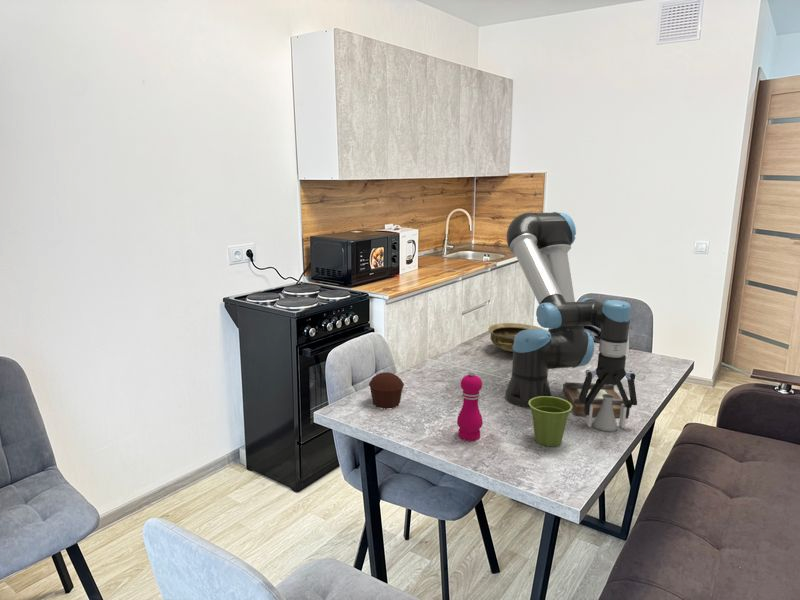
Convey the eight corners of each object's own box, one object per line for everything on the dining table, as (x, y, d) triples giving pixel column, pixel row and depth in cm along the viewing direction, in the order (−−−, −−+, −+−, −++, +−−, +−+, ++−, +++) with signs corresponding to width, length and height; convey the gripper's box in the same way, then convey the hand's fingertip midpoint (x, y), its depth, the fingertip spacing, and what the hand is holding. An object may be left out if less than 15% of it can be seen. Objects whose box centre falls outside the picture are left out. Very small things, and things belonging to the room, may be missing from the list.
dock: (575, 415, 175) (576, 402, 174) (562, 391, 194) (563, 379, 193) (628, 418, 174) (629, 404, 173) (609, 393, 193) (610, 381, 192)
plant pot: (544, 428, 166) (546, 392, 164) (578, 443, 157) (581, 406, 155) (517, 438, 159) (519, 401, 157) (550, 455, 150) (553, 416, 148)
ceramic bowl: (528, 368, 217) (530, 343, 215) (474, 356, 231) (475, 333, 229) (556, 349, 241) (557, 327, 239) (505, 339, 255) (506, 318, 253)
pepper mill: (451, 435, 161) (453, 369, 156) (467, 428, 166) (469, 364, 161) (471, 444, 156) (474, 376, 151) (486, 436, 161) (490, 370, 156)
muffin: (411, 404, 182) (411, 375, 180) (385, 413, 175) (386, 383, 173) (386, 393, 191) (387, 365, 189) (361, 402, 184) (361, 373, 181)
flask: (590, 429, 166) (593, 397, 164) (594, 419, 172) (597, 389, 170) (616, 434, 163) (619, 402, 161) (619, 424, 169) (622, 393, 167)
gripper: (577, 356, 160) (571, 429, 165) (655, 359, 158) (646, 432, 163) (571, 348, 167) (565, 418, 172) (646, 350, 165) (638, 421, 171)
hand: (605, 425), depth 168 cm, fingers open, 9 cm apart
